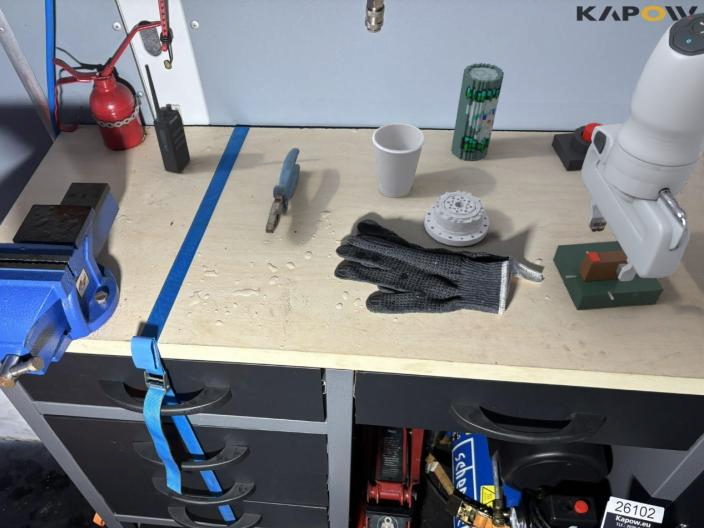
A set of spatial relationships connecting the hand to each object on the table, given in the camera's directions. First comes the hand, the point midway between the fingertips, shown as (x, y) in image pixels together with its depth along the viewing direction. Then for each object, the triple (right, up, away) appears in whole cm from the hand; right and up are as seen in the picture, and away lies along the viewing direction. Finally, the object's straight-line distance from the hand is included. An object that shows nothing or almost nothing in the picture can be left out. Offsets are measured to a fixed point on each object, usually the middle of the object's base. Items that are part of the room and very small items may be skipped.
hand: (608, 251), depth 80 cm
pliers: (-44, +9, +21) cm, 49 cm away
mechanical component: (-16, +5, +16) cm, 23 cm away
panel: (+2, -4, +7) cm, 8 cm away
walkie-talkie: (-63, +18, +31) cm, 73 cm away
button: (+10, +22, +24) cm, 34 cm away
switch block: (+10, +19, +27) cm, 34 cm away
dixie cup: (-25, +13, +23) cm, 36 cm away
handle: (0, -3, +3) cm, 4 cm away
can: (-11, +21, +29) cm, 37 cm away
